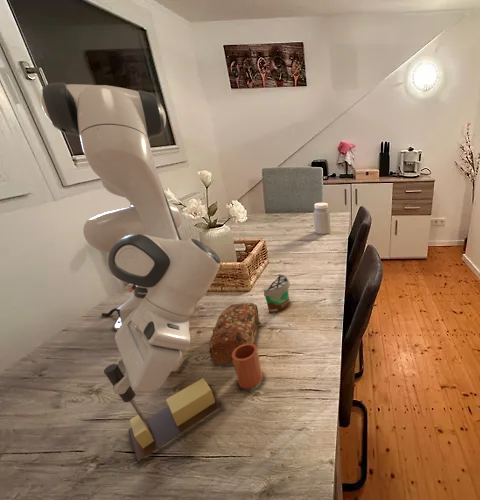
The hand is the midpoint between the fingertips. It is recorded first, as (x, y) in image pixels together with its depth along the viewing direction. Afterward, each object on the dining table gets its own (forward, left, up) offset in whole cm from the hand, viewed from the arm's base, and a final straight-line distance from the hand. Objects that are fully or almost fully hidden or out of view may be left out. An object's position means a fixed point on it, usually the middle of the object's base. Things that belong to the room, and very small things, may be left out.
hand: (116, 386), depth 52 cm
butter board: (+5, +4, -16) cm, 17 cm away
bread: (+12, +28, -16) cm, 35 cm away
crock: (+19, +13, -16) cm, 28 cm away
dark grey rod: (+1, +1, -14) cm, 14 cm away
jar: (+38, +124, -16) cm, 131 cm away
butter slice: (0, 0, -15) cm, 15 cm away
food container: (+23, +46, -16) cm, 54 cm away
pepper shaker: (-3, +20, -16) cm, 26 cm away
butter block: (+8, +6, -15) cm, 18 cm away
